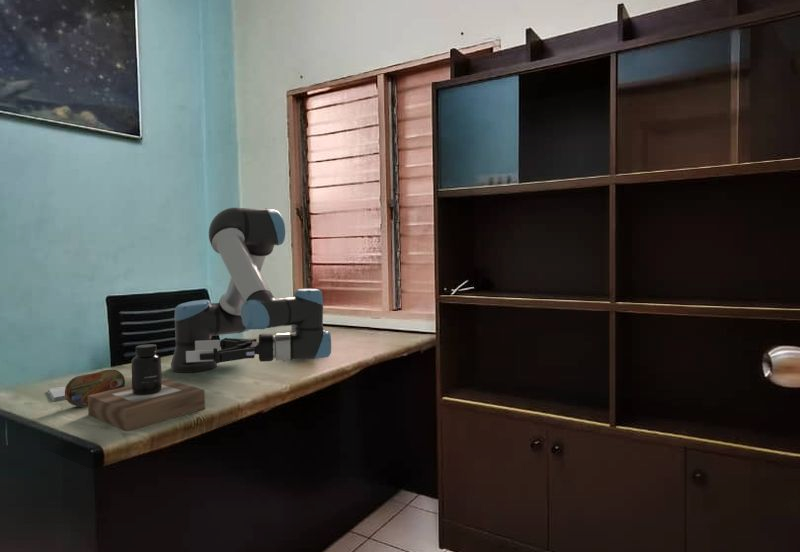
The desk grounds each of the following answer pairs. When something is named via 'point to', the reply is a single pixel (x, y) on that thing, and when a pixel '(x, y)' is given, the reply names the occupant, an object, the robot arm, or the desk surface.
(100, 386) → the tin
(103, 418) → the plinth
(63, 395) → the hard drive
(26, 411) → the desk surface
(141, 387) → the supplement bottle
